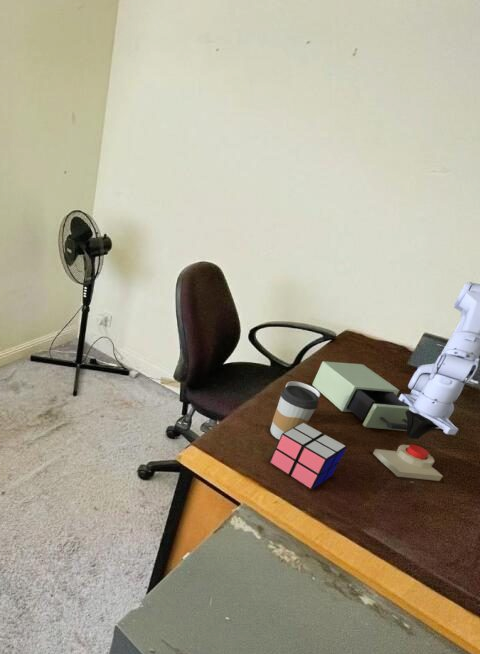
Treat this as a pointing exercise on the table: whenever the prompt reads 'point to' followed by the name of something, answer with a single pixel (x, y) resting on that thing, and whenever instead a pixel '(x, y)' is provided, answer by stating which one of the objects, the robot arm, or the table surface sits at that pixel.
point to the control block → (408, 464)
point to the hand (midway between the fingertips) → (412, 437)
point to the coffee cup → (293, 409)
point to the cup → (304, 387)
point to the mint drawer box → (347, 382)
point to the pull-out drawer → (379, 409)
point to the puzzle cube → (307, 455)
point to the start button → (417, 452)
